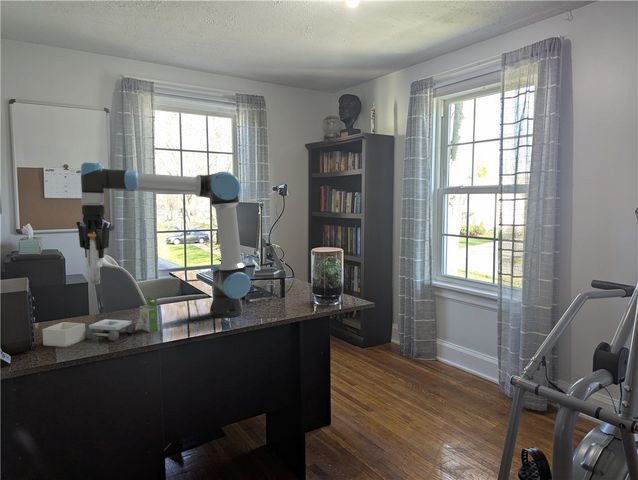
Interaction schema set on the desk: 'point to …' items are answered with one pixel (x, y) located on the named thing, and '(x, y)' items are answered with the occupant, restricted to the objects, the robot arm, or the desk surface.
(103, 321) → the cart
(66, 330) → the tray
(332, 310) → the desk surface
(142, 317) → the ink box
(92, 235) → the orange capped clear tube
